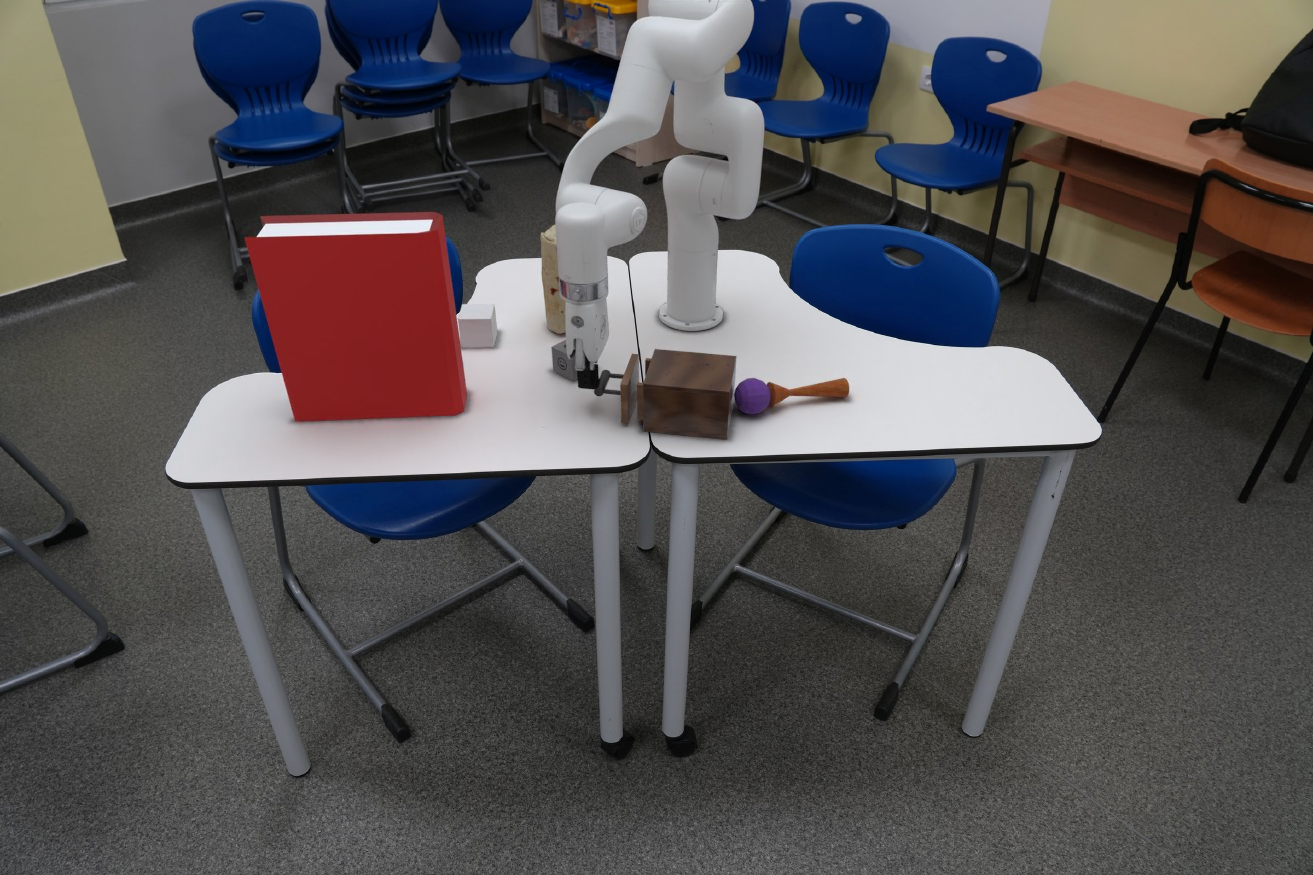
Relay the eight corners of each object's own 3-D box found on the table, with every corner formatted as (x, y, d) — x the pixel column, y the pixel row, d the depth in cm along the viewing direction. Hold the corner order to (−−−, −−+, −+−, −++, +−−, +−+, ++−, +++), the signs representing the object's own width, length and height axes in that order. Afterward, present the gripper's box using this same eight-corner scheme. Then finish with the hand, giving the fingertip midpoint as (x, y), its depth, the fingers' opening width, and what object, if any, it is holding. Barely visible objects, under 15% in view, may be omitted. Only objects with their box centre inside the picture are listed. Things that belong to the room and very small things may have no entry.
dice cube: (573, 360, 165) (571, 336, 162) (592, 370, 162) (591, 345, 159) (553, 371, 162) (551, 346, 159) (572, 381, 159) (571, 356, 156)
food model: (577, 338, 171) (572, 238, 160) (542, 337, 171) (534, 238, 160) (582, 314, 179) (577, 217, 168) (548, 313, 179) (541, 217, 168)
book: (295, 421, 148) (244, 237, 130) (306, 395, 155) (260, 216, 136) (463, 415, 150) (437, 232, 131) (467, 389, 156) (443, 211, 138)
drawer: (592, 419, 147) (590, 381, 143) (604, 387, 155) (603, 350, 151) (697, 430, 145) (698, 391, 141) (704, 397, 153) (706, 359, 149)
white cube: (494, 347, 168) (490, 318, 165) (461, 348, 168) (457, 319, 165) (497, 331, 173) (494, 303, 170) (466, 332, 173) (462, 304, 170)
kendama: (856, 386, 150) (745, 396, 145) (846, 412, 154) (737, 423, 149) (842, 363, 154) (733, 372, 149) (833, 389, 158) (726, 398, 153)
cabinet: (643, 431, 146) (642, 383, 141) (654, 395, 155) (654, 348, 150) (727, 439, 144) (729, 391, 139) (733, 402, 153) (736, 355, 148)
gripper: (596, 309, 133) (600, 413, 143) (617, 266, 145) (619, 365, 155) (547, 305, 134) (554, 408, 144) (572, 263, 146) (577, 361, 156)
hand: (588, 386), depth 150 cm, fingers closed
